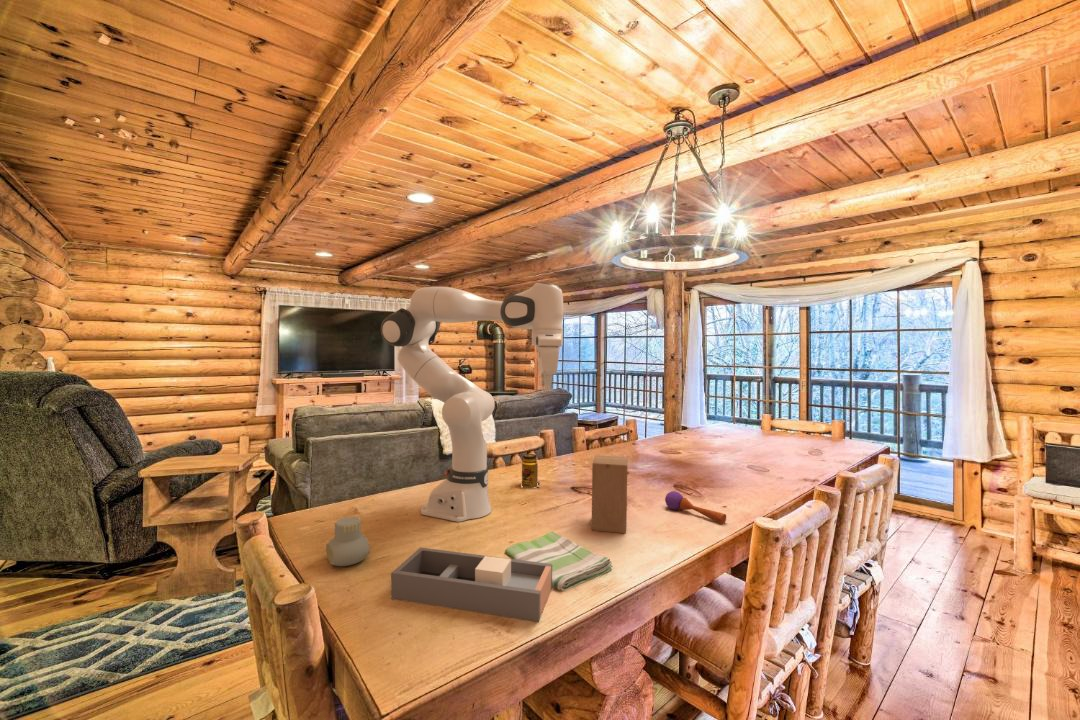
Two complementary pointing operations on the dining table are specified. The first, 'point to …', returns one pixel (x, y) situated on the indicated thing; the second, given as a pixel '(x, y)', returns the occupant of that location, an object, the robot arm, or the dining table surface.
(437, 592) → the box
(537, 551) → the dish towel
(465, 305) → the robot arm
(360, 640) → the dining table surface
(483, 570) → the cream block
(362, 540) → the air freshener
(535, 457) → the condiment
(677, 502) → the purple and brown maraca
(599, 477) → the wooden block
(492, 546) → the dining table surface
